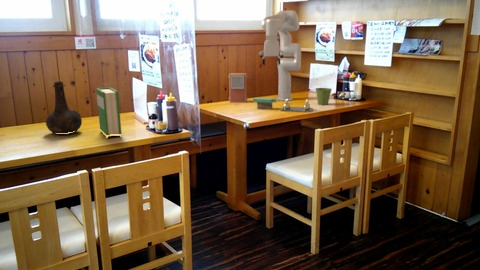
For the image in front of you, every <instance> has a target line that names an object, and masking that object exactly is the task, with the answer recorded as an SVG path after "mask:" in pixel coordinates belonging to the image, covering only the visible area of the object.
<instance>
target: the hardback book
mask: <svg viewBox="0 0 480 270" xmlns="http://www.w3.org/2000/svg"><path fill="white" fill-rule="evenodd" d="M95 91H96V100H97V111H98V121H99V130H100V129H101V130H102V131H103V132H104V133H105V134H106V135H110V134H122V126H121V125H122V124H121V114H120V113H121V111H120V101H119V91H118V90H116V89H114V88H112V87H97V88H95Z"/></svg>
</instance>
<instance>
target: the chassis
mask: <svg viewBox="0 0 480 270" xmlns="http://www.w3.org/2000/svg"><path fill="white" fill-rule="evenodd" d="M312 110H314V109H313V107H311V104H310V103H309V99H306V100H305V103H304V104H303V106H301V107H300V106H291V103H290V102H289V100H288V99H287V100H285V102H284V104H283V107H282V108H280V110H279V111H280V112H292V113H293V112H295V113H312Z"/></svg>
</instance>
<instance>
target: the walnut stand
mask: <svg viewBox="0 0 480 270" xmlns="http://www.w3.org/2000/svg"><path fill="white" fill-rule="evenodd" d="M256 109H257V110H273V102H272V103H264V102H256Z"/></svg>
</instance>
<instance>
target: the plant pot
mask: <svg viewBox="0 0 480 270" xmlns="http://www.w3.org/2000/svg"><path fill="white" fill-rule="evenodd" d="M332 90H333V89H332V88H331V87H330V88H329V87H317V88H315V93H316V98H317V99H316V101H317V105H320V106H323V105H324V106H327V105H329V101H330V97H331V93H332Z"/></svg>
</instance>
